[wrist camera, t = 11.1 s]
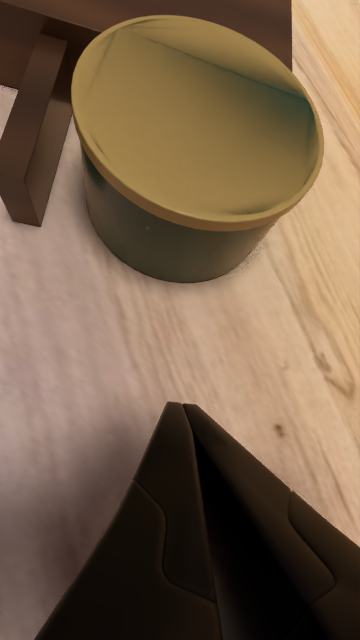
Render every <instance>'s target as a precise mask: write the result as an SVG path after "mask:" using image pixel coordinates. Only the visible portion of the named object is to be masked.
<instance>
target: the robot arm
mask: <svg viewBox="0 0 360 640" xmlns="http://www.w3.org/2000/svg"><path fill="white" fill-rule="evenodd" d="M34 640H360V547H359V546H357V545H356V544H355V543H354V542H353V541H351V540H350V539H349V538H348V537H346V536H345V535H344V534H343V533H341V532H340V531H339V530H338V529H337V528H335V527H334V526H333V525H332V524H330V523H329V522H328V521H327V520H326V519H325V518H323V517H322V516H321V515H320V514H319V513H318V512H316V511H315V510H314V509H313V508H312V507H311V506H310V505H308V504H307V503H306V502H305V501H304V500H303V499H302V498H301V497H299V496H298V495H297V494H296V493H295V492H294V491H292V492H291V490H290V488H289V487H288V486H286V485H285V484H284V483H283V482H282V481H281V480H280V479H279V478H278V477H276V476H275V475H274V474H273V473H272V472H271V471H270V470H269V469H268V468H266V467H265V466H264V465H263V464H262V463H261V462H260V461H259V460H258V459H256V458H255V457H254V456H253V455H252V454H251V453H250V452H249V451H248V450H246V449H245V448H244V447H243V446H242V445H241V444H240V443H239V442H238V441H236V440H235V439H234V438H233V437H232V436H231V435H230V434H229V433H227V432H226V431H225V430H224V429H223V428H222V427H221V426H220V425H219V424H217V423H216V422H215V421H214V420H213V419H212V418H211V417H210V416H209V415H207V414H206V413H205V412H204V411H203V410H202V409H201V408H200V407H199V406H197V405H195V404H186V403H184V404H181V403H178V402H167V403H166V405H165V408H164V410H163V412H162V414H161V416H160V419H159V421H158V423H157V425H156V428H155V430H154V432H153V434H152V436H151V439H150V441H149V443H148V445H147V448H146V450H145V452H144V454H143V456H142V459H141V461H140V463H139V465H138V468H137V470H136V472H135V474H134V476H133V479H132V481H131V482H130V485H129V487H128V489H127V491H126V494H125V496H124V498H123V500H122V502H121V503H120V505H119V507H118V509H117V511H116V513H115V515H114V517H113V518H112V520H111V522H110V523H109V525H108V527H107V528H106V530H105V532H104V533H103V535H102V537H101V538H100V540H99V541H98V543H97V544H96V546H95V547H94V549H93V550H92V552H91V554H90V555H89V557H88V558H87V560H86V561H85V563H84V564H83V566H82V567H81V569H80V570H79V572H78V573H77V575H76V576H75V578H74V579H73V581H72V582H71V584H70V586H69V587H68V589H67V590H66V592H65V593H64V595H63V596H62V598H61V599H60V601H59V602H58V604H57V605H56V607H55V608H54V610H53V611H52V613H51V614H50V616H49V618H48V619H47V621H46V622H45V624H44V625H43V627H42V628H41V630H40V631H39V633H38V634H37V636H36V637H35V639H34Z"/></svg>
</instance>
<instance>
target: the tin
mask: <svg viewBox="0 0 360 640" xmlns="http://www.w3.org/2000/svg"><path fill="white" fill-rule="evenodd" d="M71 102H72V111H73V118H74V123H75V128H76V131H77V134H78V136H79V139H80V144H81V154H82V164H83V173H84V183H85V193H86V203H87V208H88V213H89V216H90V219H91V221H92V224H93V226H94V228H95V230H96V232H97V233H98V235H99V236H100V238H101V239H102V241H103V242H104V243H105V245H106V246H107V247H108V248H109V249H110V250H111V251H112V252H113V253H114V254H115V255H116V256H117V257H119V258H120V259H121V260H122V261H123V262H125V263H126V264H128V265H129V266H131V267H133V268H134V269H136V270H138V271H140V272H142V273H144V274H146V275H149V276H152V277H155V278H158V279H162V280H167V281H172V282H182V283H185V282H200V281H206V280H210V279H213V278H217V277H219V276H221V275H223V274H226V273H228V272H229V271H231V270H232V269H234V268H235V267H237V266H238V265H239V264H240V263H241V262H242V261H243V260H244V259H245V258H246V257H247V256H248V254H249V253H250V252H251V251H252V250H253V249H254V247H255V246H256V245H257V244H258V243H259V242H260V240H261V239H262V238H263V237H264V236H265V235H266V233H267V232H268V231H269V230H270V229H271V228H272V226H273V225H274V224H275V223H276V222H277V221H278V219H279V218H280V217H281V216H283V215H285V214H286V213H287V212H289V211H290V210H291V209H292V208H293V207H294V206H296V205H297V204H298V202H299V201H300V200H301V199H302V198H303V197H304V196H305V194H306V193H307V192H308V191H309V189H310V188H311V187H312V185H313V184H314V182H315V180H316V178H317V176H318V174H319V171H320V168H321V165H322V160H323V154H324V137H323V130H322V125H321V122H320V119H319V115H318V113H317V111H316V108H315V106H314V104H313V102H312V100H311V98H310V96H309V95H308V93H307V91H306V90H305V88H304V87H303V86H302V84H301V83H300V81H299V80H298V79H297V78H296V77H295V75H294V74H293V73H292V72H291V71H290V70H289V69H288V68H287V67H286V66H285V65H284V64H283V63H282V62H281V61H280V60H279V59H278V58H276V57H275V56H274V55H273V54H271V53H270V52H269V51H268V50H266V49H265V48H263V47H262V46H260V45H259V44H257V43H256V42H254V41H252V40H251V39H249V38H247V37H245V36H244V35H242V34H240V33H237V32H235V31H233V30H231V29H229V28H226V27H223V26H221V25H218V24H215V23H212V22H208V21H205V20H201V19H196V18H191V17H185V16H174V15H153V16H145V17H139V18H135V19H131V20H127V21H124V22H122V23H119V24H117V25H114V26H112V27H111V28H109V29H107V30H105V31H104V32H102V33H101V34H100V35H98V36H97V37H96V38H95V39H93V40H92V42H91V43H90V44H89V45H88V46H87V47H86V48H85V50H84V51H83V53H82V55H81V56H80V58H79V60H78V62H77V65H76V67H75V70H74V73H73V78H72V84H71Z"/></svg>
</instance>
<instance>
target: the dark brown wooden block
mask: <svg viewBox="0 0 360 640" xmlns="http://www.w3.org/2000/svg"><path fill="white" fill-rule="evenodd" d="M153 15H174V16H185V17H191V18H196V19H201V20H205V21H208V22H212V23H215V24H218V25H221V26H223V27H226V28H229V29H231V30H233V31H235V32H237V33H240V34H242V35H244V36H245V37H247V38H249V39H251V40H252V41H254V42H256V43H257V44H259V45H260V46H262V47H263V48H265V49H266V50H268V51H269V52H270V53H271V54H273V55H274V56H275V57H276V58H278V59H279V60H280V61H281V62H282V63H283V64H284V65H285V66H286V67H287V68H288V69H289V70H290V71H291V72H292V11H291V0H0V84H2V85H6V86H10V87H14V88H17V89H19V91H18V93H17V96H16V99H15V102H14V104H13V107H12V110H11V113H10V115H9V118H8V121H7V124H6V126H5V129H4V132H3V135H2V137H1V140H0V196H1V198H2V200H3V202H4V204H5V206H6V209H7V211H8V213H9V215H10V217H11V219H12V221H16V222H21V223H26V224H31V225H36V226H41V222H42V219H43V215H44V211H45V208H46V204H47V201H48V197H49V194H50V190H51V187H52V183H53V179H54V176H55V172H56V169H57V165H58V162H59V158H60V155H61V151H62V147H63V144H64V140H65V137H66V133H67V130H68V126H69V122H70V119H71V115H72V112H73V111H72V102H71V84H72V78H73V73H74V70H75V67H76V65H77V62H78V60H79V58H80V56H81V55H82V53H83V51H84V50H85V48H86V47H87V46H88V45H89V44H90V43H91V42H92V40H93V39H95V38H96V37H97V36H98V35H100V34H101V33H102V32H104V31H105V30H107V29H109V28H111V27H112V26H114V25H117V24H119V23H122V22H124V21H127V20H131V19H135V18H139V17H145V16H153Z"/></svg>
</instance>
